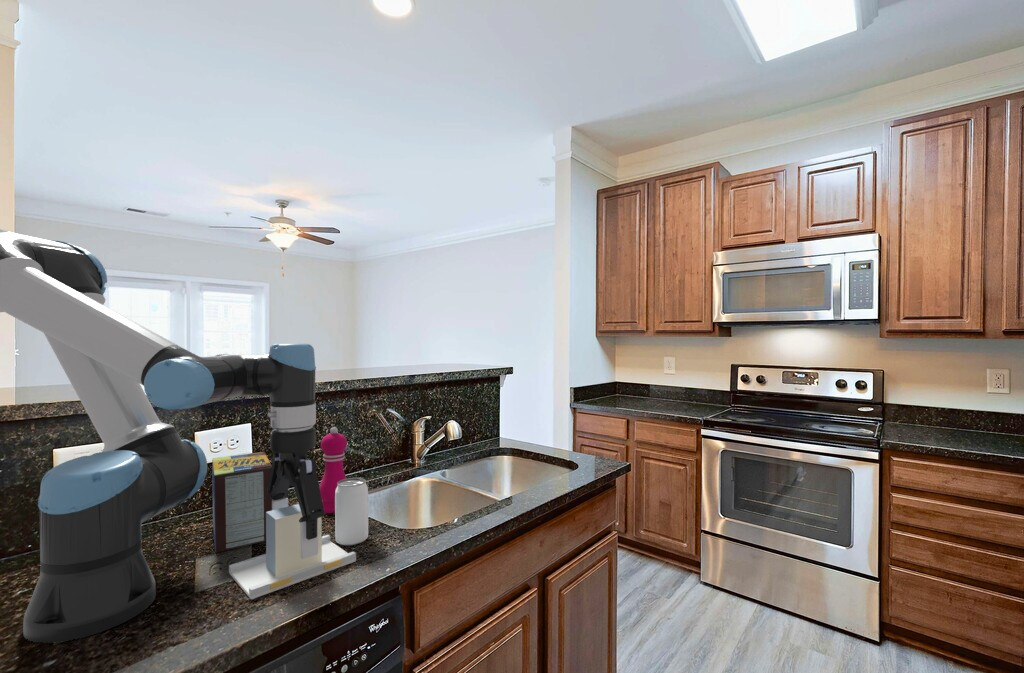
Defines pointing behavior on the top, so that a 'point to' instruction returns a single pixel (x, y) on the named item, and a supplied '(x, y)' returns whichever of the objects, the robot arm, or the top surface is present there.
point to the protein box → (240, 500)
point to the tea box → (287, 541)
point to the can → (351, 511)
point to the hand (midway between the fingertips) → (294, 544)
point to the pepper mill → (332, 467)
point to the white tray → (262, 581)
